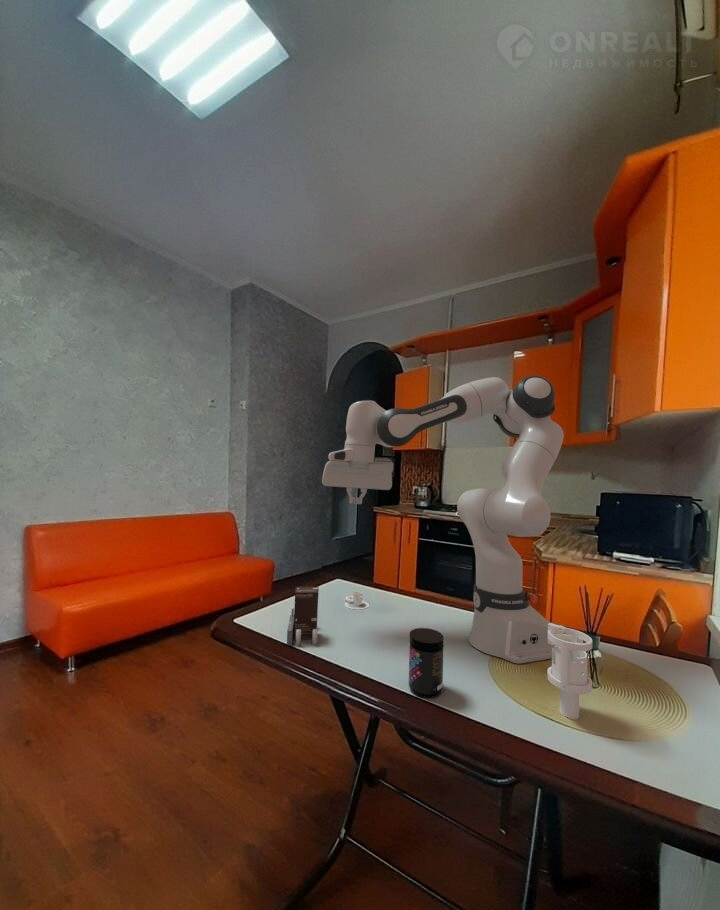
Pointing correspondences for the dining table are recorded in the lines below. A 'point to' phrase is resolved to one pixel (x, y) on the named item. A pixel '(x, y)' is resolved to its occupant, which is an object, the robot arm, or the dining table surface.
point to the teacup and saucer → (356, 600)
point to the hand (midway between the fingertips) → (355, 503)
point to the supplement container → (426, 662)
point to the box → (305, 611)
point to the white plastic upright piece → (569, 668)
